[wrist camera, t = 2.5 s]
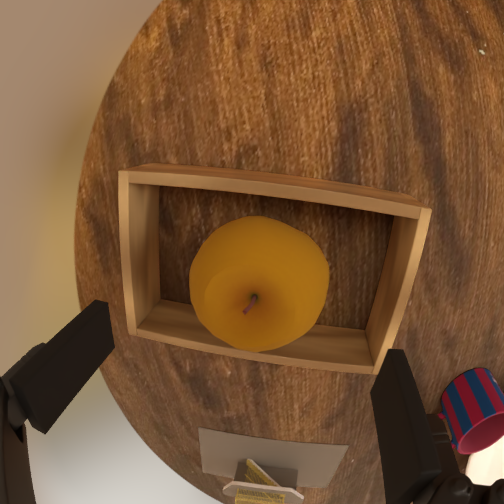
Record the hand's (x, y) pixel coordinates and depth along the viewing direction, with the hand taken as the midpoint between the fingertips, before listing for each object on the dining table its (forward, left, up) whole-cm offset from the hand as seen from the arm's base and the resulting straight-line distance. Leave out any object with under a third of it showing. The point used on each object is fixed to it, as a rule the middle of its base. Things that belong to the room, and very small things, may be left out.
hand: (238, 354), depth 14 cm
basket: (0, 0, -12) cm, 12 cm away
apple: (0, 0, -12) cm, 12 cm away
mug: (+13, +22, -12) cm, 29 cm away
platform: (+28, +3, -12) cm, 31 cm away
